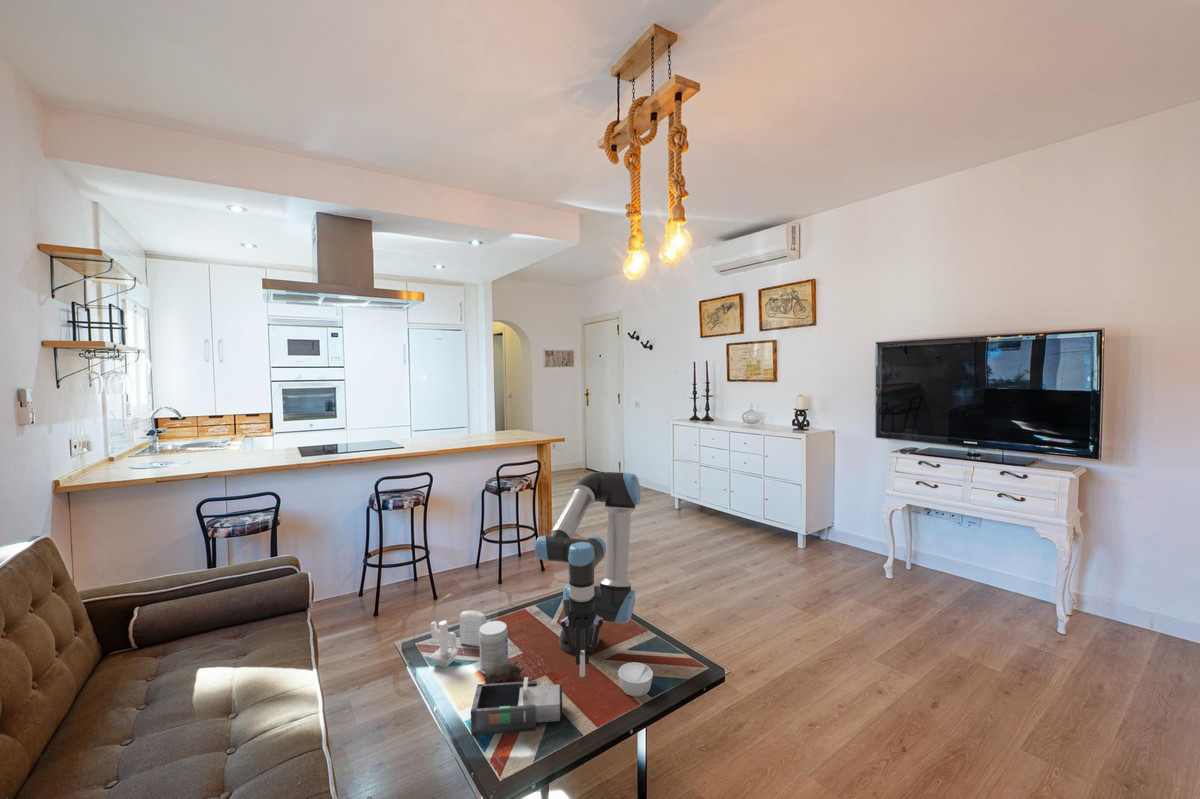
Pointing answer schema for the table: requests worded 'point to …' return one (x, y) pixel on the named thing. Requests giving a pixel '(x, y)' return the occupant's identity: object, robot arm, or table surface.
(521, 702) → the plunger
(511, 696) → the gauge housing
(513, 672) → the rhino figurine
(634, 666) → the ramekin
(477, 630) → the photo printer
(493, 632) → the supplement tub
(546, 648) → the table surface
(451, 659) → the figurine
